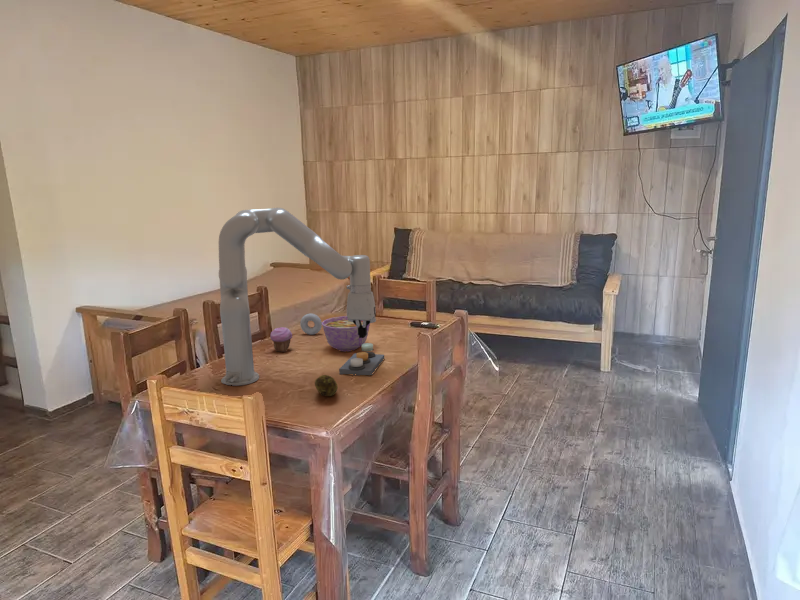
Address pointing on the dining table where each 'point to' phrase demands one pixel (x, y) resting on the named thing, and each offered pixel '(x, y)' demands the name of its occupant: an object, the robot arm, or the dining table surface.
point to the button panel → (367, 366)
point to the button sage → (367, 347)
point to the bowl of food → (343, 333)
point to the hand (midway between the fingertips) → (362, 337)
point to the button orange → (362, 355)
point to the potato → (326, 385)
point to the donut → (311, 330)
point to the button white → (356, 362)
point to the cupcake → (281, 339)
